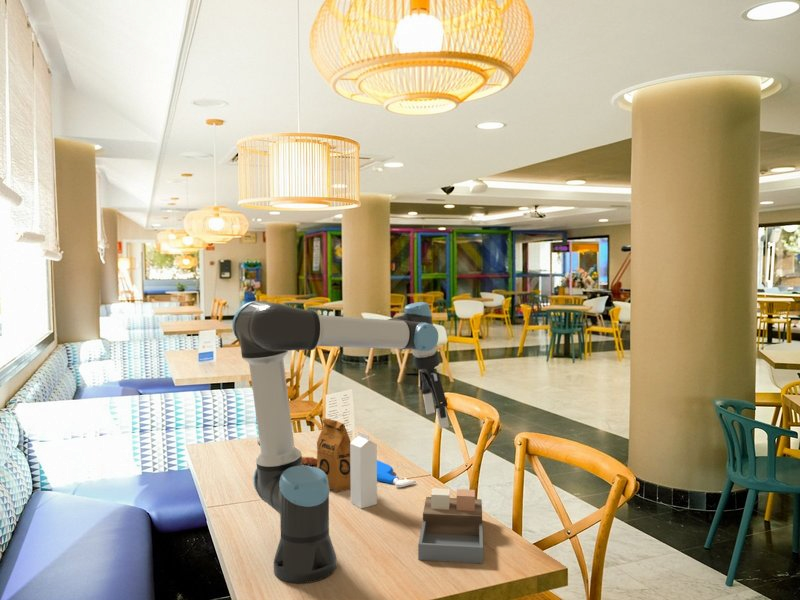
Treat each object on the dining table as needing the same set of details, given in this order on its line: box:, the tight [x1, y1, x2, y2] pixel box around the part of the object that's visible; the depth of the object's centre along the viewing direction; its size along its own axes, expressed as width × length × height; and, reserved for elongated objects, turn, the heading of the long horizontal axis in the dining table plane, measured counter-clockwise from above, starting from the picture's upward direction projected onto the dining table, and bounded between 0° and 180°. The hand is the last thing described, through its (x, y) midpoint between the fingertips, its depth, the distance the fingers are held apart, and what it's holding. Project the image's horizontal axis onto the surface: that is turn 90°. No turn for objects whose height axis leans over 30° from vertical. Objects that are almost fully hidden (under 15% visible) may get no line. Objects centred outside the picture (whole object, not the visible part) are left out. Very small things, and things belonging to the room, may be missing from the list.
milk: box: [350, 431, 378, 509], centre depth 186 cm, size 6×6×22 cm
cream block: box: [430, 487, 451, 510], centre depth 170 cm, size 5×5×4 cm
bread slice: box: [300, 450, 317, 467], centre depth 229 cm, size 18×18×4 cm
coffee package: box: [316, 417, 352, 492], centre depth 202 cm, size 10×12×22 cm
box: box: [417, 520, 484, 564], centre depth 157 cm, size 14×16×4 cm
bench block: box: [422, 496, 483, 536], centre depth 170 cm, size 12×16×6 cm
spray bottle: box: [377, 459, 417, 489], centre depth 211 cm, size 3×11×24 cm
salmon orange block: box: [456, 488, 476, 511], centre depth 169 cm, size 5×5×4 cm
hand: (437, 420), depth 185 cm, fingers open, 13 cm apart
